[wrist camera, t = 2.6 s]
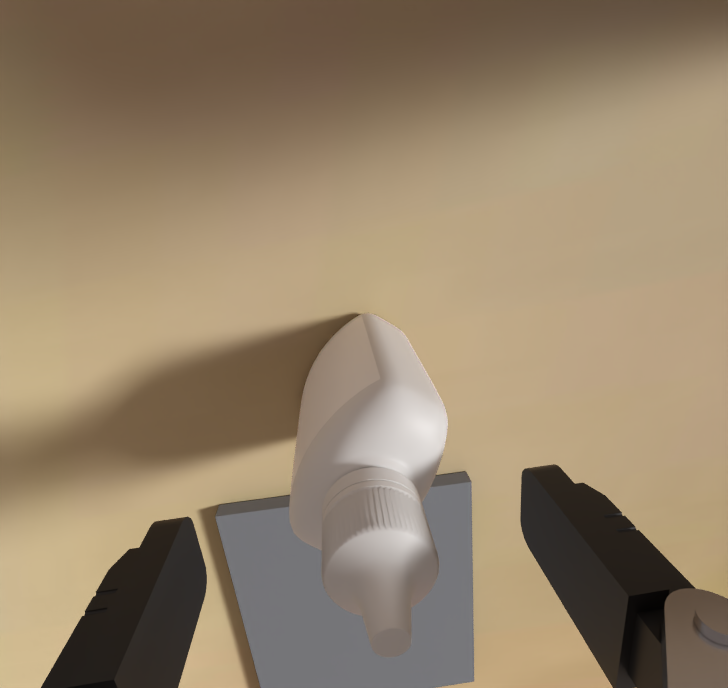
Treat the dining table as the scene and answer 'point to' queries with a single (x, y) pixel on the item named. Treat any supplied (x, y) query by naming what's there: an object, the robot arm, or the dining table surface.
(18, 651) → the dining table surface
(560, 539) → the robot arm
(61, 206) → the dining table surface
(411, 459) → the eye dropper bottle
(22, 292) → the dining table surface
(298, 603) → the slate mat
